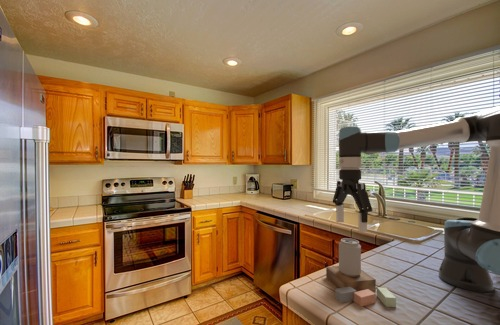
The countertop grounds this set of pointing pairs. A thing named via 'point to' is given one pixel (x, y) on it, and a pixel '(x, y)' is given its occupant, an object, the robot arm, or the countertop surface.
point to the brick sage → (386, 297)
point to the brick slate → (345, 294)
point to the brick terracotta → (364, 297)
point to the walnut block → (350, 280)
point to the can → (350, 257)
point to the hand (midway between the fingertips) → (350, 226)
